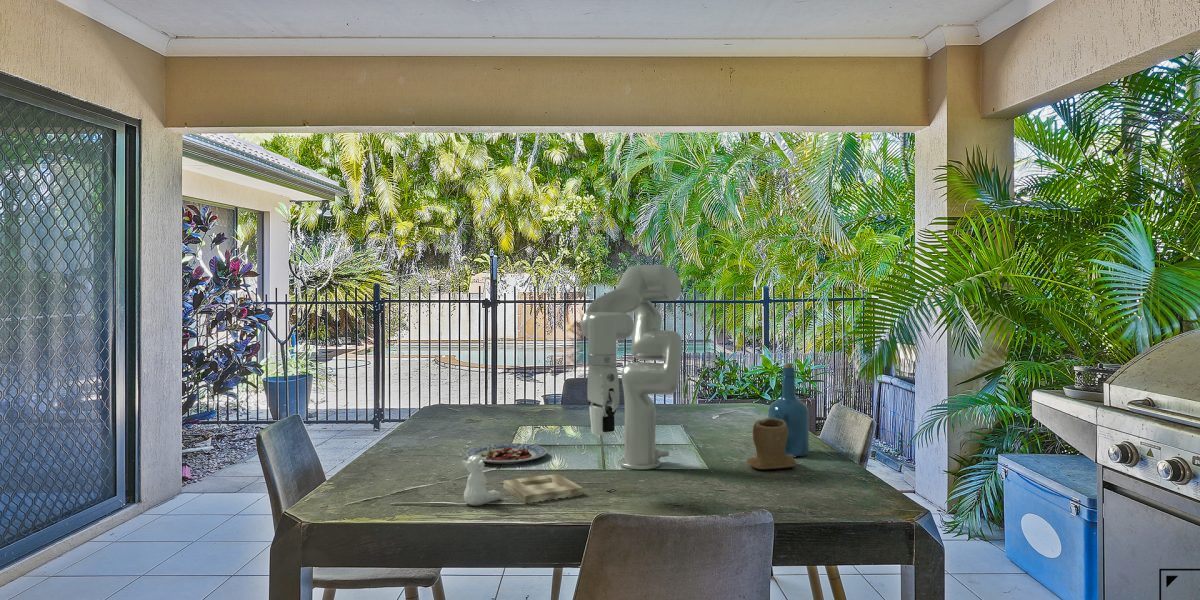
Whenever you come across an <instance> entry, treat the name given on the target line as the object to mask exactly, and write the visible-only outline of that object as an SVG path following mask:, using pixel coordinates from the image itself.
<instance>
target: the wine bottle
mask: <svg viewBox="0 0 1200 600" xmlns="http://www.w3.org/2000/svg"><path fill="white" fill-rule="evenodd" d="M781 377H782V382H781V385H782V386H781V387H782V388H781V396H779V397H778V398H777V399H776V400H775V401H773V402H771V404H770V405H769V407H768V417H767V418H777V419H781V420H783V421H785V422H786V424H787V427H788V438H787V442H786V447H785V455H786V454H792V455H793V458H795V457H794V456H802V457H805V456H808V455H809V452H810V451H809V448H810V443H809V442H810V441H809V440H810V439H809V438H810V436H809V435H810V433H809V432H810V429H809V428H810V422H809V421H810V419H809V418H810V413H809V412H810V411H809V409H808V406H807V404H806V403H804V402H802V401H801V400H799V399H798V398H797V397H796V387H795V386H796V383H795V381H796V379H795V378H796V372H795V367H794V364H793V363H792V362H786V363H784V366H783V367H782V373H781ZM807 454H808V455H807ZM804 455H805V456H804Z"/></svg>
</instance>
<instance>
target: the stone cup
mask: <svg viewBox="0 0 1200 600" xmlns="http://www.w3.org/2000/svg"><path fill="white" fill-rule="evenodd" d="M787 438H788V427H787V424H786V422H785V421H783V420H781V419H777V418H768V417H767V418H764V419H761V420H756V422H755V423H754V424H753V428H752V440H753V444H754V447H755V451H756V452H755V453H756V456H755V457H749V458H748V459H746V463H747V465H748V466H750V467H752V468H754V469H757V470H773V469H775V470H776V469H788V468H794V467H797V462H796V460H795V457H793V455H792V454H786V455H785V447H786V442H787Z"/></svg>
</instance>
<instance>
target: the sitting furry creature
mask: <svg viewBox="0 0 1200 600" xmlns="http://www.w3.org/2000/svg"><path fill="white" fill-rule="evenodd" d="M461 462H462V467H465V469H466V470H467V471H468V472H469V473H470V474H469V476H468V477H467V481H466V487H465V488H464V489H465V490H464V491H463V500H464V502H465V503H466V505H469V506H482V505H485V504H488V503H492V502H495V501H498V500H500V499H501V496H502V494H501V492H500V491H497V490H495V489H492V490H488V491H487V489H486V486H487V482H488V478H487V477H486V476H485V475H486V474H484V472H483V471H484V469H485V465H486V464H485V462H483V460H482V458H480V456H479V455H472V456H470V457H468V458H467V460H463V459H462V460H461Z"/></svg>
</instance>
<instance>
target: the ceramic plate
mask: <svg viewBox="0 0 1200 600" xmlns="http://www.w3.org/2000/svg"><path fill="white" fill-rule="evenodd" d="M547 453H548V450H547V448H545V447H542V446H541V445H537V444H531V443H520V442H507V443H504V442H503V443H493V444H492V443H491V444H485V445H479V446H476V447H473V448H471V449H468V450H467V451H466V452H465V455H466V457H468V458H469V457H470V456H472V455H479V456H480V458H482V460H483V463H486V462H487V464H492V463H493V464H492V465H513V464H515V465H516V464H521V462H522V463H526V461H527V462H529V460H530V461H532V460H535V459H539V458H541V457H544V456H546V454H547Z"/></svg>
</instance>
